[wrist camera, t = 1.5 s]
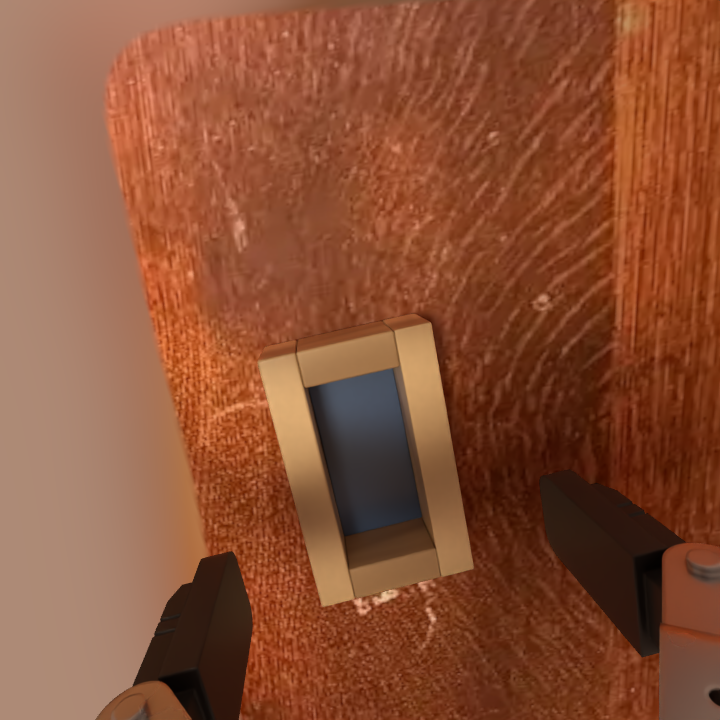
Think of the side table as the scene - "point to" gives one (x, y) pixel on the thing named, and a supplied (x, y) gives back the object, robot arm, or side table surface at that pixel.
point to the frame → (368, 456)
